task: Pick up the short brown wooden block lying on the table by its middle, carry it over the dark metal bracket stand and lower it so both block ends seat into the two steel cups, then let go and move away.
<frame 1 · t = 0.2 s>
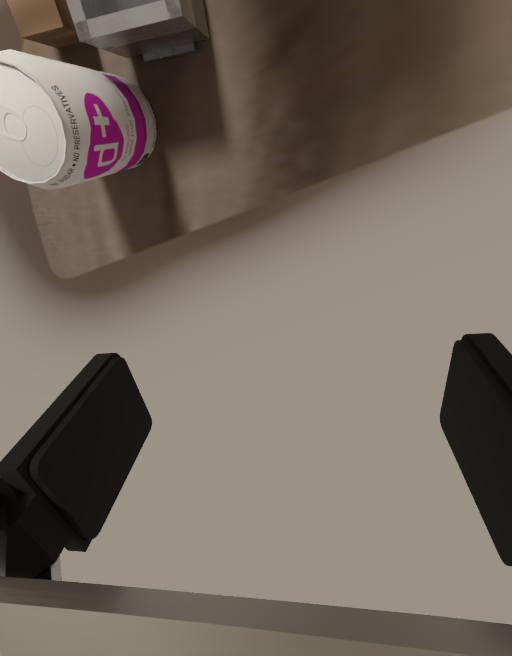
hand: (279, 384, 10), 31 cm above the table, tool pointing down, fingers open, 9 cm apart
supplement can: (121, 124, 34), on the table
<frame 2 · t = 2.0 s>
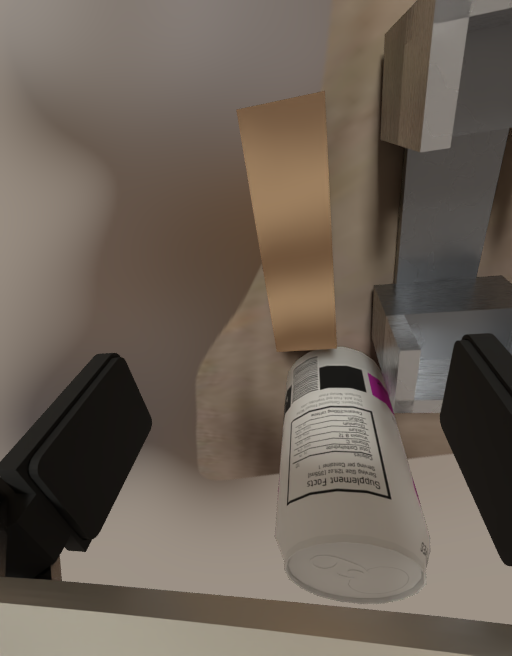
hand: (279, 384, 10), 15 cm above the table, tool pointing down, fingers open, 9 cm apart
brown wooden block: (297, 225, 22), on the table
supplement can: (332, 377, 29), on the table
bracket stand: (441, 209, 20), on the table
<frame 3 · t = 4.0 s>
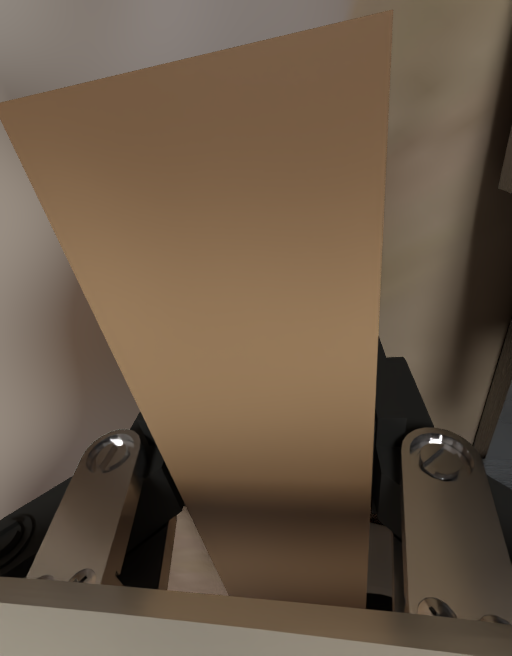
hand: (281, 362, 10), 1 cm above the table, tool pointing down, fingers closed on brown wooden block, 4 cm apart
brown wooden block: (282, 349, 11), on the table, touching gripper
supplement can: (348, 549, 18), on the table
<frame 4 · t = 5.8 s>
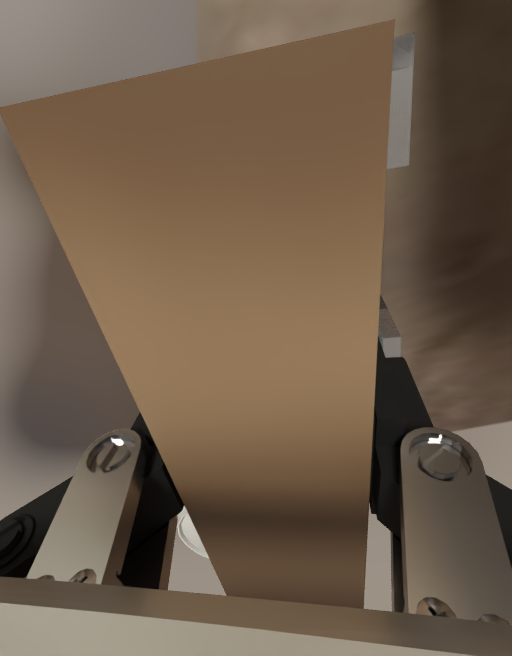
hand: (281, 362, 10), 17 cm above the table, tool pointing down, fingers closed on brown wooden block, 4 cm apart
brown wooden block: (281, 350, 11), point 16 cm above the table, touching gripper
supplement can: (259, 378, 33), on the table
bracket stand: (317, 231, 25), on the table
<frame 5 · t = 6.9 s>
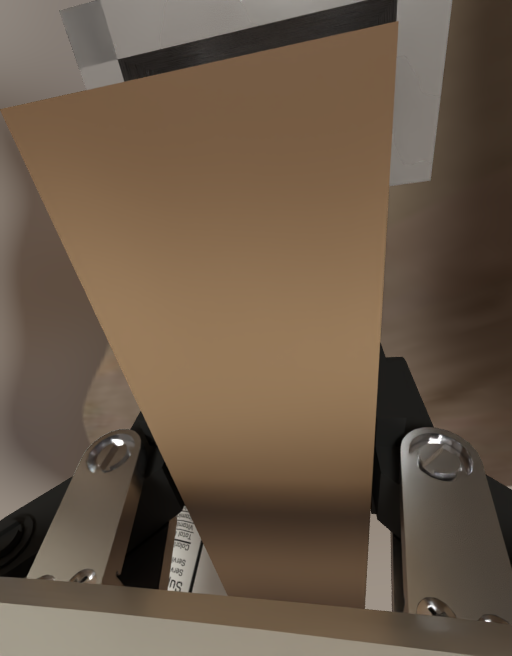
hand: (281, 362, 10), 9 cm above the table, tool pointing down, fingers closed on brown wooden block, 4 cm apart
brown wooden block: (282, 350, 11), point 9 cm above the table, touching gripper
supplement can: (223, 421, 27), on the table
bracket stand: (293, 252, 18), on the table
when the fingers open (7 cm above the table, at t = 7.6 s): brown wooden block drops 1 cm, resting on bracket stand.
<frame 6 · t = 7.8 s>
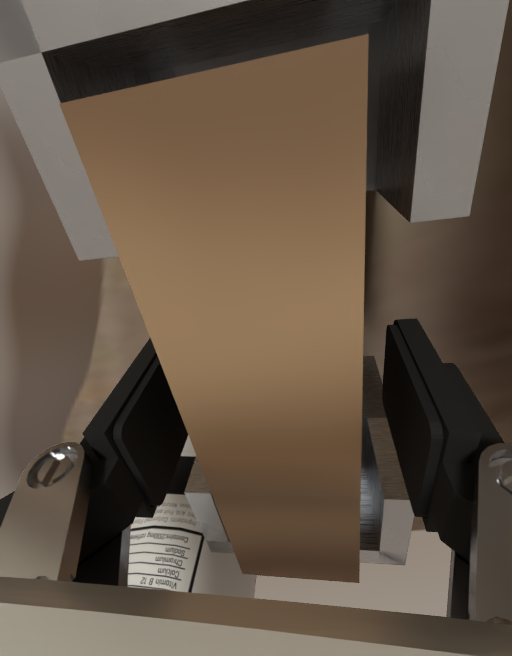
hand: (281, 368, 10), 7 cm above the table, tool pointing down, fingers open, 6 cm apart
brown wooden block: (283, 329, 12), point 5 cm above the table, touching bracket stand
supplement can: (214, 452, 25), on the table
bracket stand: (289, 277, 16), on the table
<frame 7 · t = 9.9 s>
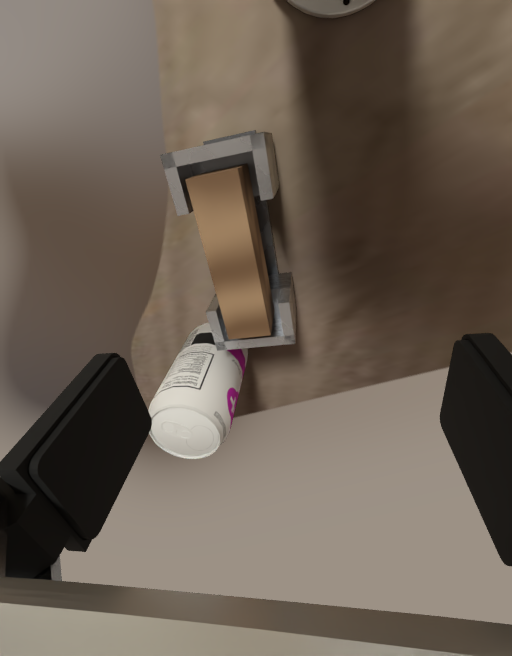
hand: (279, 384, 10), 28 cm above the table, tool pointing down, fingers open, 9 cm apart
brown wooden block: (242, 248, 31), point 5 cm above the table, touching bracket stand
supplement can: (218, 345, 44), on the table
bracket stand: (249, 235, 35), on the table
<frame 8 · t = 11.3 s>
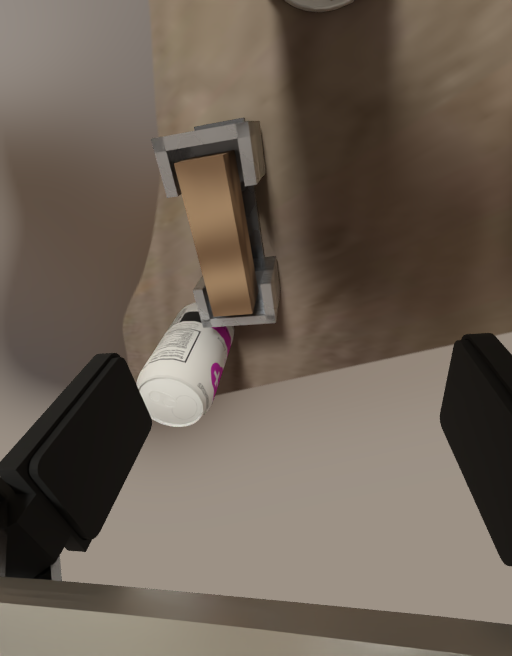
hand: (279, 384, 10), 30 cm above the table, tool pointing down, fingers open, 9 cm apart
brown wooden block: (228, 231, 33), point 5 cm above the table, touching bracket stand
supplement can: (206, 324, 46), on the table
bracket stand: (237, 219, 37), on the table
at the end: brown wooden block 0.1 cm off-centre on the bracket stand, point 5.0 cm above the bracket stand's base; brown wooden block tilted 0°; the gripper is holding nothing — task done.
